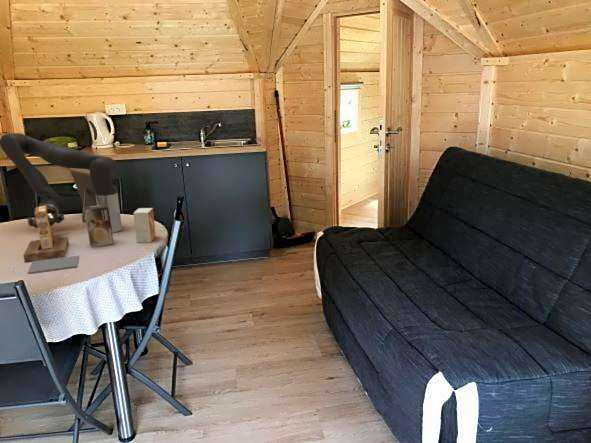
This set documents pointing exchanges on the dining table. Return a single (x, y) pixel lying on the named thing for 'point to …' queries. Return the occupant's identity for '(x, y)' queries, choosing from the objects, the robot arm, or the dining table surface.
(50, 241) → the candy box
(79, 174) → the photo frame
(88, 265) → the dining table surface
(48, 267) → the slate mat
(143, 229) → the small box
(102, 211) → the coffee box
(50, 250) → the pocket board
